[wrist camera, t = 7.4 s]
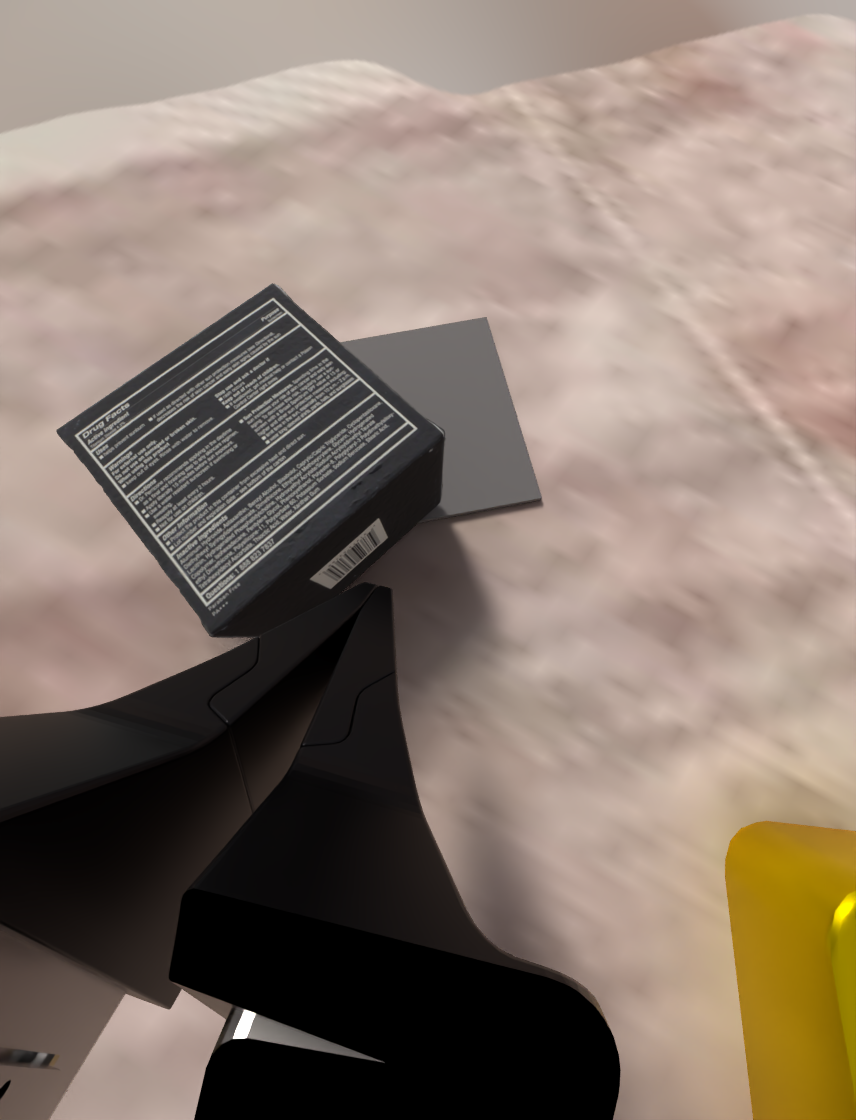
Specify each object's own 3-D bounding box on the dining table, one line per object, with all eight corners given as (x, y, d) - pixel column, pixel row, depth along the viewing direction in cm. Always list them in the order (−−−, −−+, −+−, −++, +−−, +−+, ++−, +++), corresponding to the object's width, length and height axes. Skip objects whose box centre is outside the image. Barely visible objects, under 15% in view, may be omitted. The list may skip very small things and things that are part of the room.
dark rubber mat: (540, 500, 18) (541, 497, 17) (252, 554, 17) (249, 552, 17) (485, 321, 21) (486, 317, 21) (243, 363, 21) (240, 359, 20)
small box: (445, 505, 18) (325, 388, 20) (453, 431, 11) (275, 269, 13) (293, 640, 16) (178, 499, 18) (203, 642, 10) (40, 423, 12)
